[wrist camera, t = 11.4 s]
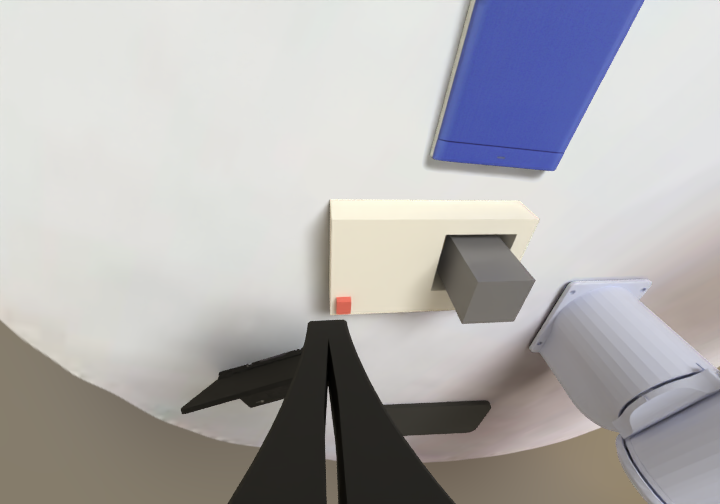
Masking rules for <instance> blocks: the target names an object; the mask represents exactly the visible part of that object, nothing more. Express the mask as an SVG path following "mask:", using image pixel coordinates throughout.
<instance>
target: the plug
mask: <svg viewBox="0 0 720 504" xmlns="http://www.w3.org/2000/svg"><path fill="white" fill-rule="evenodd" d="M437 272H438V275H439V277H440V279H441V281H442V283H443V285H444V287H445V289H446V291H447V293H448V295H449V298H450V300H451V302H452V304H453V306H454V308H455V310H456V312H457V314H458V316H459V319H460V321H461V323H462V324H469V323H490V322H512V321H514V320H515V318H516V316H517V314H518V313H519V311H520V309H521V307H522V305H523V303H524V301H525V299H526V297H527V296H528V294H529V292H530V290H531V288H532V286H533V284H534V282H535V279H534V278H533V277H532V276H531V275H530V273H529V272H528V271H527V270H526V269H525V267H524V266H523V265H522V264H521V262H520V261H519V260H518V259H517V258H516V256H515V255H514V254H513V253H512V252H511V250H510V249H509V248H508V247H507V246H506V244H505V243H504V242H503V241H502V240H501V238H500V237H499V236H498V235H497V234H471V235H447V236H446V238H445V240H444V244H443V247H442V254H441V257H440V261H439V265H438V268H437Z"/></svg>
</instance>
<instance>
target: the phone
mask: <svg viewBox="0 0 720 504" xmlns="http://www.w3.org/2000/svg"><path fill="white" fill-rule="evenodd" d="M383 406H384V407H385V409H386V411H387V412H388V414H389V416H390V417H391V419H392V420H393V422H394V423H395V425H396V426H397V428H398V429H399V431H400V433H401V434H402V436H408V435H429V434H450V433H467V432H471V431H474V430H475V429H476V428H477V427H478V425H479V424H480V423H481V421H482V420H483V419H484V417H485V416H486V415H487V413H488V412H489V410H490V409H491V406H490V403H489V402H488V401H461V402H439V403H416V404H393V405H383Z"/></svg>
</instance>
